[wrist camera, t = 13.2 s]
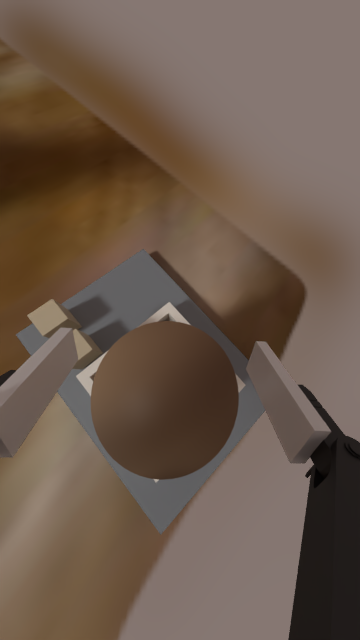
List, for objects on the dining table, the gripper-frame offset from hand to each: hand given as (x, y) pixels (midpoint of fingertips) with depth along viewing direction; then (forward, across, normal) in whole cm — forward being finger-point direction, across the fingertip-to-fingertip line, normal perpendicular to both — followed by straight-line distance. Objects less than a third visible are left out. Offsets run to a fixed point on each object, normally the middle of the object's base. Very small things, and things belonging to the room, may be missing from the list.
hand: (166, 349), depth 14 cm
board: (+4, -1, -6) cm, 7 cm away
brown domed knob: (+2, 0, -6) cm, 6 cm away
